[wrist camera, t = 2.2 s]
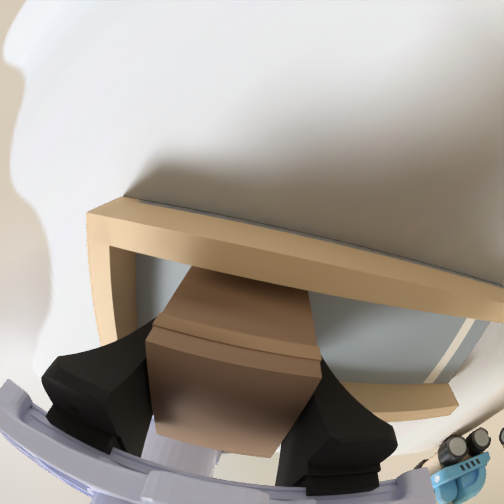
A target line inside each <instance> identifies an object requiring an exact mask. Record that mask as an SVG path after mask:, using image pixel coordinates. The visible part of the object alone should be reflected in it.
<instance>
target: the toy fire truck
mask: <svg viewBox="0 0 504 504" xmlns="http://www.w3.org/2000/svg"><path fill="white" fill-rule="evenodd" d="M499 440H500V442H501V444H502V445H503V448H504V428H503V429H502V430H501V432H500V435H499Z"/></svg>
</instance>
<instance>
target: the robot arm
mask: <svg viewBox="0 0 504 504" xmlns="http://www.w3.org/2000/svg"><path fill="white" fill-rule="evenodd" d="M156 317H157V316H156ZM156 317H155V318H154V319H152V320H151V321H149V322H148V323H147V324H145V325H144V326H142V327H140V328H139V329H137V330H136V331H134V332H132V333H130V334H129V335H127V336H125V337H123V338H121V339H119V340H117V341H115V342H112V343H109V344H107V345H104V346H102V347H99V348H96V349H92V350H89V351H85V352H81V353H77V354H71V355H65V356H58V357H57V358H56V359H55V360H54V362H53V363H52V364H51V365H50V367H49V368H48V369H47V371H46V372H45V373H44V375H43V376H42V377H41V379H42V384H43V387H44V389H45V391H46V392H47V394H48V396H49V398H50V400H51V401H52V403H53V405H52V407H51V408H50V410H49V411H48V412H46V411H44V410H43V409H42V408H40V407H38V406H37V405H35V404H34V403H33V402H32V400H31V398H30V396H29V395H28V394H27V393H26V392H25V391H24V390H23V389H22V388H21V387H19V386H18V385H17V384H15V383H14V382H13V381H11V380H10V379H7V381H6V382H5V383H4V385H3V386H2V387H1V388H0V433H1V434H2V435H3V436H4V437H5V438H6V439H7V440H8V441H9V442H10V443H11V444H12V445H13V446H15V447H16V448H17V449H18V450H20V451H21V452H22V453H23V454H25V455H26V456H27V457H29V458H30V459H31V460H33V461H34V462H35V463H37V464H38V465H39V466H41V467H42V468H44V469H45V470H47V471H48V472H49V473H51V474H52V475H54V476H56V477H57V478H59V479H60V480H62V481H63V482H65V483H67V484H68V485H70V486H71V487H73V488H75V489H77V490H78V491H80V492H82V493H84V494H86V495H87V496H89V497H91V498H92V499H91V502H90V504H436V499H435V494H434V490H433V486H432V482H431V478H430V474H429V470H428V467H424V468H419V469H415V470H411V471H408V472H405V473H403V474H401V475H400V476H399V477H397V478H396V479H392V480H387V481H381V482H379V479H378V473H377V472H379V471H380V470H381V468H380V463H381V462H382V461H384V460H385V459H386V458H387V457H389V456H390V455H391V454H392V453H393V452H394V451H395V450H396V448H397V446H398V444H397V439H396V435H395V432H394V429H393V426H391V425H389V424H388V423H386V422H385V421H383V420H382V419H380V418H378V417H377V416H376V415H374V414H373V413H372V412H370V411H369V410H368V409H366V408H365V407H364V406H363V405H362V404H361V403H360V402H358V401H357V400H356V399H355V398H354V397H353V396H352V395H351V394H350V393H349V392H348V391H347V390H346V388H345V387H344V386H343V385H342V384H341V383H340V382H339V380H338V379H337V378H336V377H335V375H334V374H333V372H332V371H331V370H330V368H329V367H328V365H327V364H326V362H325V360H324V359H323V357H322V356H321V359H322V360H321V362H320V367H321V374H322V379H321V380H320V382H319V384H318V386H317V387H316V389H315V391H314V393H313V394H312V396H311V398H310V399H309V401H308V403H307V404H306V406H305V407H304V409H303V411H302V412H301V414H300V415H299V417H298V418H297V420H296V422H295V423H294V425H293V426H292V428H291V429H290V431H289V432H288V434H287V435H286V437H285V438H284V439H283V441H282V442H281V451H280V458H279V466H278V472H277V477H276V483H275V486H267V485H256V484H247V483H240V482H233V481H227V480H221V479H216V478H213V473H214V468H215V466H216V465H218V462H219V458H220V456H221V452H222V451H220V450H215V449H210V448H206V447H201V446H197V445H193V444H189V443H185V442H182V441H178V440H174V439H171V438H168V437H164V436H161V435H158V434H157V433H156V428H155V422H154V416H153V409H152V402H151V395H150V387H149V378H148V369H147V358H146V346H145V340H146V338H147V336H148V335H149V333H150V331H151V330H152V328H153V327H152V324H153V322H154V321H155V319H156Z"/></svg>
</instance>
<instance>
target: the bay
mask: <svg viewBox="0 0 504 504" xmlns="http://www.w3.org/2000/svg"><path fill="white" fill-rule="evenodd" d="M86 220H87V247H88V261H89V273H90V282H91V290H92V298H93V305H94V312H95V318H96V323H97V329H98V334H99V339H100V344H101V347H102V346H104V345H107V344H109V343H112V342H115V341H117V340H119V339H121V338H123V337H125V336H127V335H129V334H130V333H132V332H134V331H136V330H137V329H139V328H140V327H142V326H144V325H145V324H147V323H148V322H149V321H151V320H152V319H154V318H155V317H156V316H158V314H159V313H162V312H163V310H164V309H165V307H166V305H167V304H168V302H169V300H170V299H171V297H172V296H173V294H174V293H175V291H176V289H177V288H178V286H179V285H180V283H181V281H182V280H183V278H184V277H185V275H186V274H187V272H188V271H189V269H190V267H191V266H196V267H200V268H205V269H209V270H213V271H218V272H222V273H227V274H231V275H236V276H240V277H245V278H250V279H254V280H259V281H264V282H269V283H273V284H278V285H283V286H288V287H293V288H298V289H303V290H308V294H309V299H310V305H311V311H312V317H313V322H314V328H315V335H316V341H317V346H318V347H320V352H321V356H322V357H323V359H324V360H325V362H326V364H327V365H328V367H329V368H330V370H331V371H332V372H333V374H334V375H335V377H336V378H337V379H338V380H339V382H340V383H341V384H342V385H343V386H344V387H345V388H346V390H347V391H348V392H349V393H350V394H351V395H352V396H353V397H354V398H355V399H356V400H357V401H358V402H360V403H361V404H362V405H363V406H364V407H365V408H366V409H368V410H369V411H370V412H372V413H373V414H374V415H376V416H377V417H378V418H380V419H382V420H383V421H385V422H397V421H409V420H419V419H427V418H434V417H441V416H447V415H450V414H451V413H452V412H453V411H454V410H455V409H456V408H457V407H458V406H459V404H458V402H457V400H456V398H455V396H454V394H453V392H452V390H451V388H450V386H449V384H448V382H449V381H450V380H451V378H452V377H453V376H454V375H455V373H456V372H457V371H458V369H459V368H460V367H461V365H462V364H463V362H464V361H465V360H466V358H467V357H468V355H469V354H470V352H471V351H472V349H473V348H474V346H475V345H476V343H477V342H478V340H479V339H480V337H481V335H482V334H483V332H484V330H485V329H486V327H487V325H488V324H489V322H490V321H492V322H499V323H504V287H503V286H501V285H498V284H495V283H491V282H488V281H485V280H481V279H478V278H475V277H471V276H468V275H465V274H461V273H458V272H454V271H451V270H447V269H444V268H440V267H437V266H433V265H429V264H426V263H422V262H418V261H415V260H411V259H407V258H403V257H400V256H396V255H392V254H388V253H384V252H380V251H377V250H373V249H369V248H365V247H361V246H357V245H353V244H348V243H344V242H340V241H336V240H332V239H328V238H324V237H319V236H315V235H311V234H306V233H302V232H298V231H293V230H289V229H284V228H280V227H275V226H271V225H266V224H262V223H257V222H252V221H248V220H243V219H238V218H233V217H228V216H224V215H219V214H214V213H209V212H204V211H199V210H193V209H188V208H183V207H178V206H172V205H167V204H162V203H156V202H151V201H145V200H140V199H134V198H128V197H119V198H117V199H115V200H113V201H110V202H108V203H106V204H104V205H101V206H99V207H97V208H95V209H93V210H91V211H88V212H86Z"/></svg>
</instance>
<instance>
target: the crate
mask: <svg viewBox="0 0 504 504" xmlns="http://www.w3.org/2000/svg"><path fill="white" fill-rule="evenodd" d="M152 327H153V328H152V330H151V331H150V333H149V335H148V336H147V338H146V340H145V346H146V358H147V369H148V378H149V387H150V395H151V402H152V409H153V416H154V422H155V428H156V433H157V434H158V435H161V436H164V437H168V438H171V439H174V440H178V441H182V442H185V443H189V444H193V445H197V446H201V447H206V448H210V449H215V450H220V451H225V452H231V453H236V454H243V455H250V456H257V457H265V458H270V457H271V456H272V455H273V454H274V452H275V451H276V449H277V448H278V447H279V445H280V444H281V442H282V441H283V439H284V438H285V437H286V435H287V434H288V432H289V431H290V429H291V428H292V426H293V425H294V423H295V422H296V420H297V418H298V417H299V415H300V414H301V412H302V411H303V409H304V407H305V406H306V404H307V403H308V401H309V399H310V398H311V396H312V394H313V393H314V391H315V389H316V387H317V386H318V384H319V382H320V380H321V379H322V374H321V367H320V362H321V360H322V359H321V352H320V347H318V346H317V341H316V335H315V328H314V322H313V317H312V311H311V305H310V299H309V294H308V290H303V289H298V288H293V287H288V286H283V285H278V284H273V283H269V282H264V281H259V280H254V279H250V278H245V277H240V276H236V275H231V274H227V273H222V272H218V271H213V270H209V269H205V268H200V267H196V266H191V267H190V269H189V271H188V272H187V274H186V275H185V277H184V278H183V280H182V281H181V283H180V285H179V286H178V288H177V289H176V291H175V293H174V294H173V296H172V297H171V299H170V300H169V302H168V304H167V305H166V307H165V309H164V310H163V312H162V313H159V314H158V316H157V317H156V319H155V321H154V322H153V324H152Z"/></svg>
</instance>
